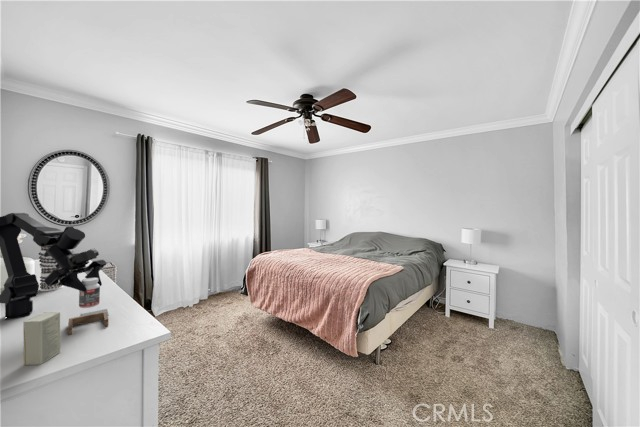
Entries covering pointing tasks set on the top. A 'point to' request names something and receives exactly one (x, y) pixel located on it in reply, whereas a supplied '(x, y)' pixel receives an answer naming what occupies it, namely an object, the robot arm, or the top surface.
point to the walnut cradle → (87, 320)
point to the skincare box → (41, 338)
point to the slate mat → (95, 312)
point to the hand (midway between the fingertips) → (93, 288)
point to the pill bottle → (89, 293)
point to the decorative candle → (47, 270)
